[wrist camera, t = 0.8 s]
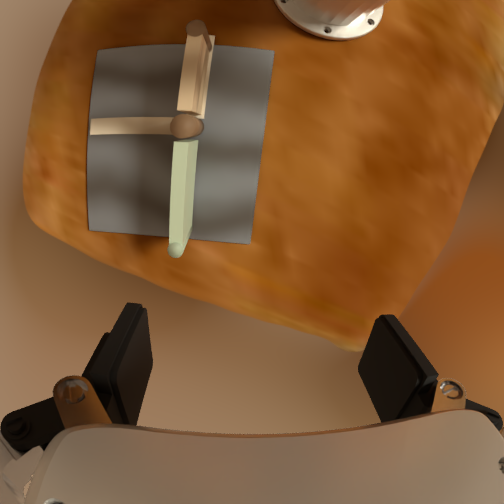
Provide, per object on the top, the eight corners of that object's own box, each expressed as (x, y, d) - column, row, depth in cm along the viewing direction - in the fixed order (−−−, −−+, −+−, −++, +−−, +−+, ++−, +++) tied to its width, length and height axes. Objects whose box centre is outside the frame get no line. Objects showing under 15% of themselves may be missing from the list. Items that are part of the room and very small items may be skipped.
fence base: (100, 42, 23) (70, 26, 16) (275, 42, 24) (285, 20, 18) (90, 229, 31) (62, 252, 25) (250, 242, 33) (253, 272, 27)
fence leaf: (185, 139, 27) (172, 141, 22) (199, 140, 28) (189, 142, 22) (179, 233, 31) (167, 257, 26) (192, 234, 31) (182, 258, 26)
